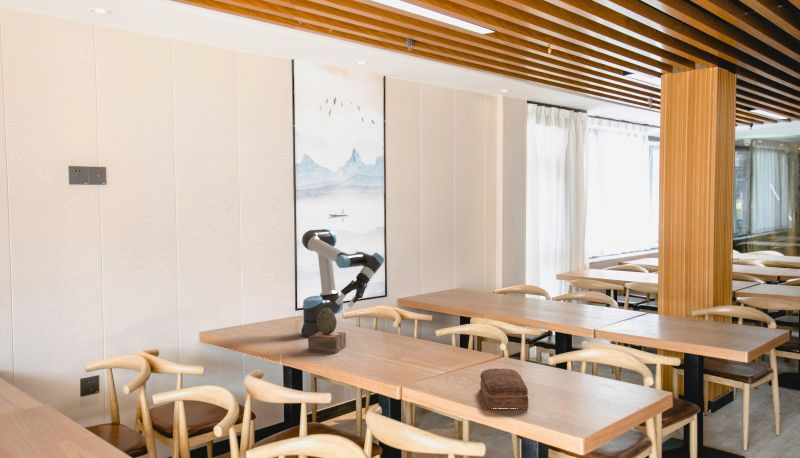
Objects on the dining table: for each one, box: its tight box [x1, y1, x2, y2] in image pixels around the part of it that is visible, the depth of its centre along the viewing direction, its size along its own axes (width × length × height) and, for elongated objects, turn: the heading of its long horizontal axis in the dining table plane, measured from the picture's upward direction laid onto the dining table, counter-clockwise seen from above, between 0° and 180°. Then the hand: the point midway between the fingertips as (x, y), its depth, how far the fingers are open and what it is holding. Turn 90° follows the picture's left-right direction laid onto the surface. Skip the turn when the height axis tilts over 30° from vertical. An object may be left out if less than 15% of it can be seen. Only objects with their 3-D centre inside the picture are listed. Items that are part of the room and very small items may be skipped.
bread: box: [479, 367, 529, 410], centre depth 263 cm, size 17×29×11 cm, turn 179°
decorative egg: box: [317, 307, 338, 335], centre depth 354 cm, size 11×11×15 cm
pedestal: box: [307, 331, 347, 354], centre depth 354 cm, size 16×16×8 cm
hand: (342, 305), depth 359 cm, fingers open, 13 cm apart
